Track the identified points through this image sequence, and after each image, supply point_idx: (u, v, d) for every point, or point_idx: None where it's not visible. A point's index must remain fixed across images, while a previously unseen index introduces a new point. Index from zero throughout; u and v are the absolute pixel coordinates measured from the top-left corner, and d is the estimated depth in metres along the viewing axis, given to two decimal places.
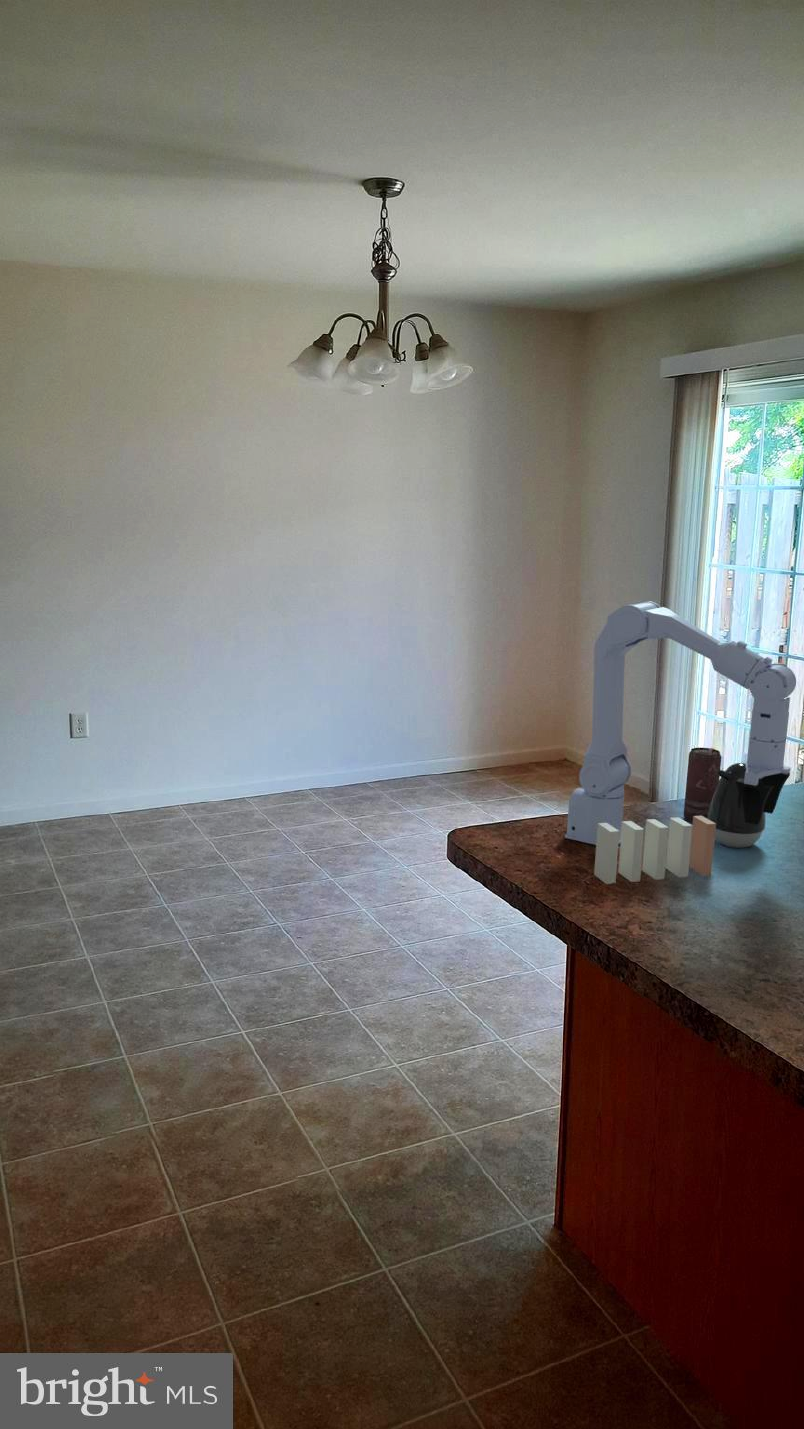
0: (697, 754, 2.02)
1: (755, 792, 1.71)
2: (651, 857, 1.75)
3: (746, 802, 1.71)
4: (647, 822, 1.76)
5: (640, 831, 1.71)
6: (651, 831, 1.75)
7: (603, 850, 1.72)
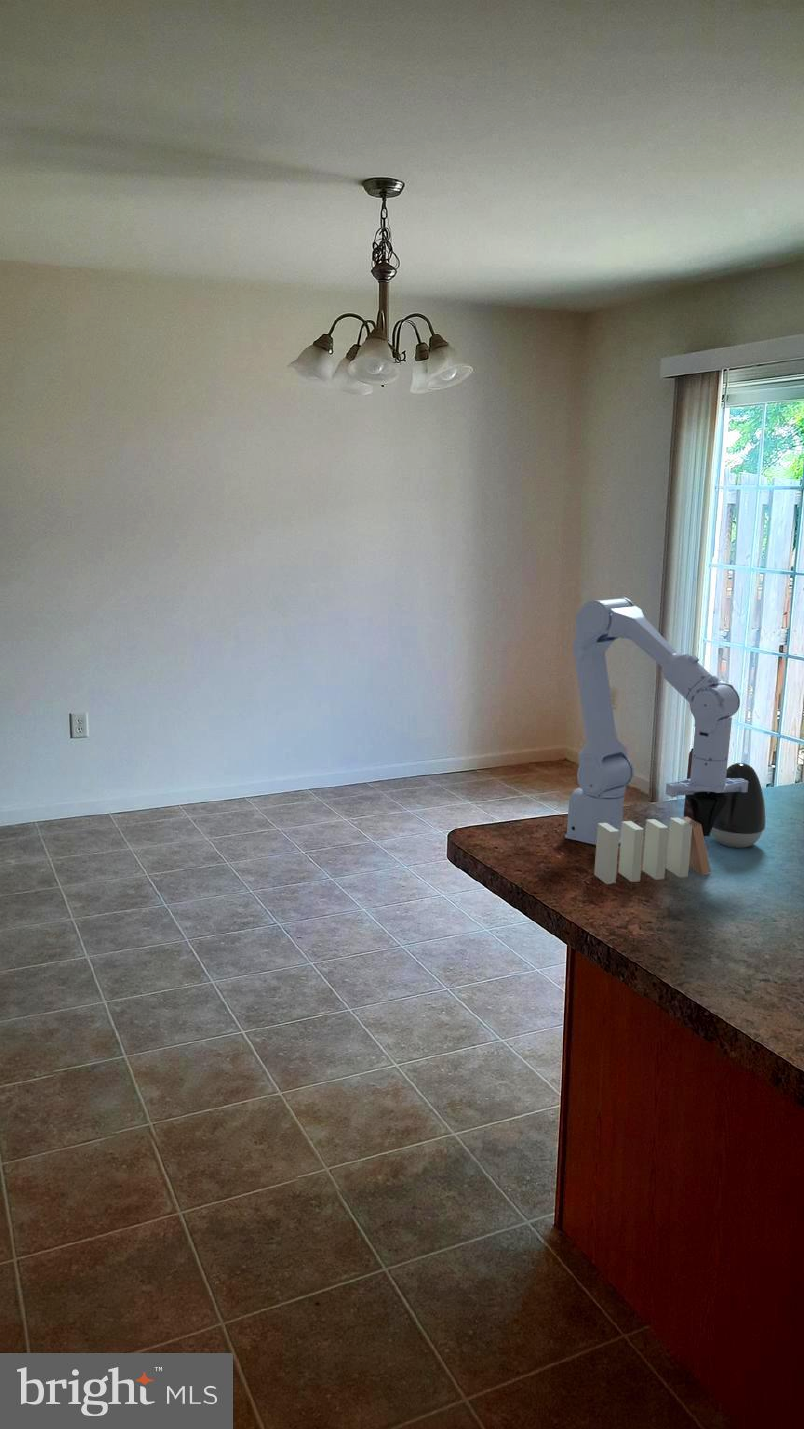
0: None
1: None
2: (651, 857, 1.75)
3: (696, 813, 1.77)
4: (647, 822, 1.76)
5: (640, 831, 1.71)
6: (651, 831, 1.75)
7: (603, 850, 1.72)
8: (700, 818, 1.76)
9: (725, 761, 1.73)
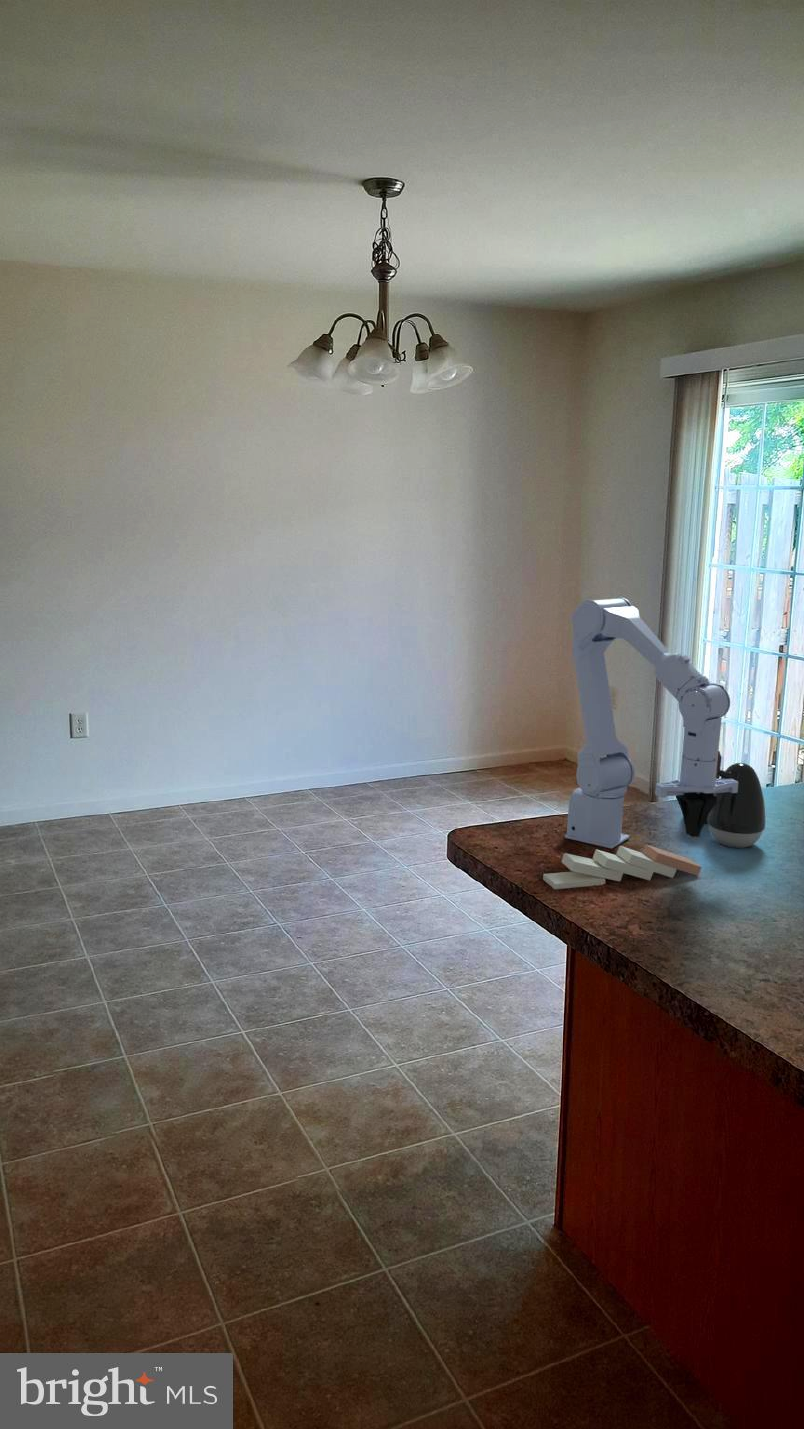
0: None
1: None
2: None
3: (685, 814, 1.77)
4: (595, 859, 1.74)
5: (575, 865, 1.70)
6: None
7: None
8: (690, 819, 1.76)
9: (715, 762, 1.72)
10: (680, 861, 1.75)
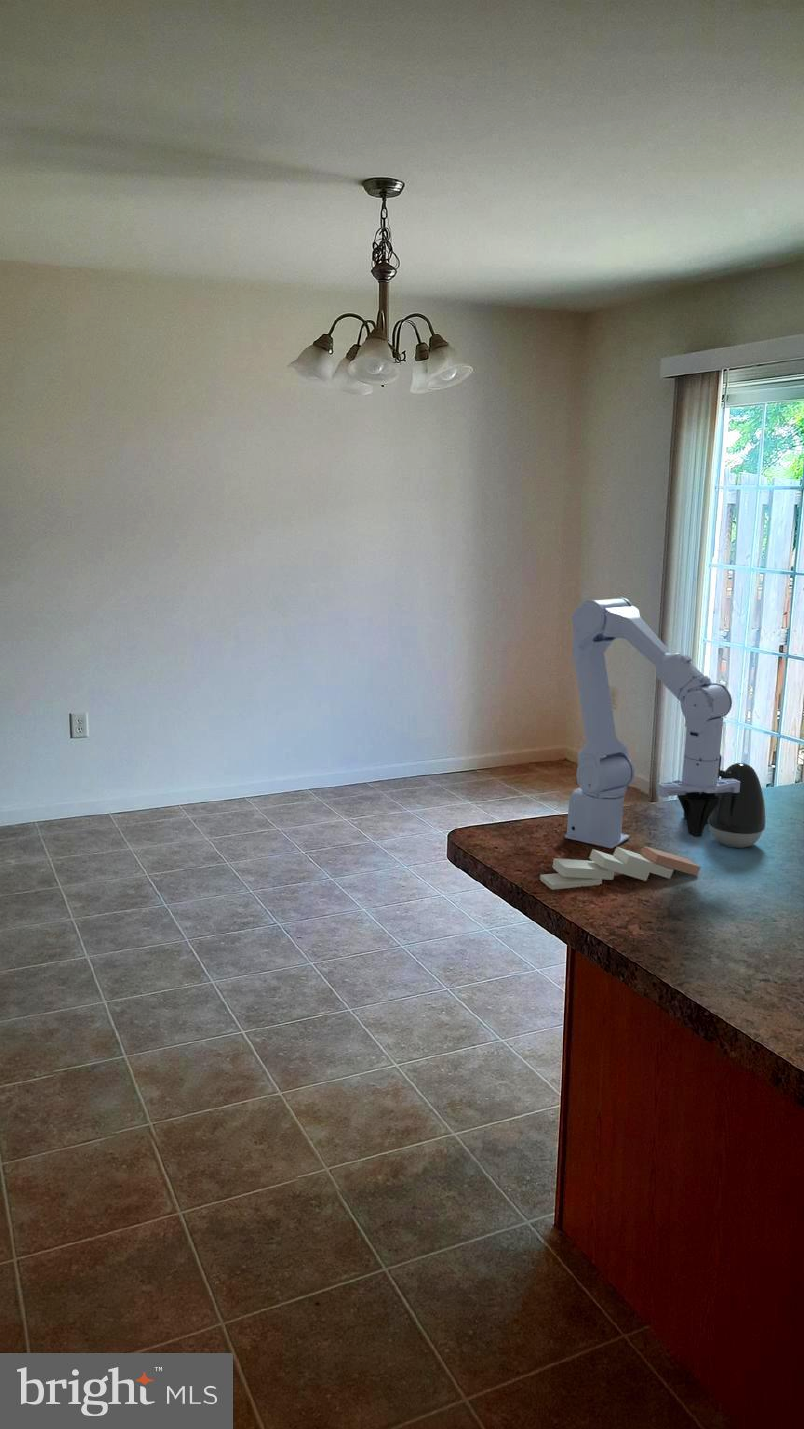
0: None
1: None
2: None
3: (687, 813, 1.77)
4: (592, 859, 1.74)
5: (566, 870, 1.69)
6: None
7: None
8: (692, 819, 1.76)
9: (716, 761, 1.72)
10: (679, 862, 1.74)
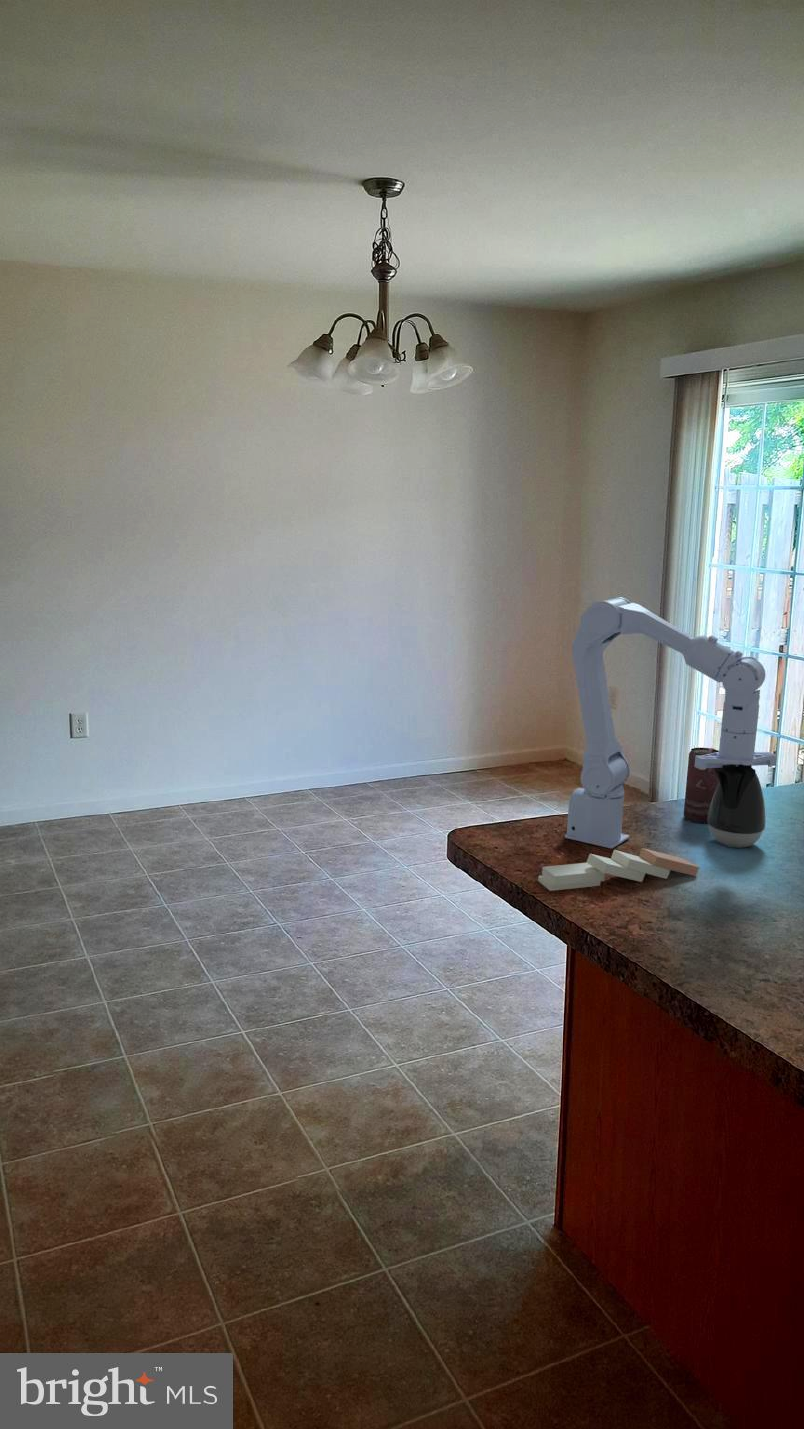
0: (697, 754, 2.02)
1: None
2: None
3: (724, 786, 1.80)
4: (589, 863, 1.71)
5: (556, 879, 1.67)
6: None
7: None
8: (728, 791, 1.79)
9: (754, 734, 1.75)
10: (678, 863, 1.74)
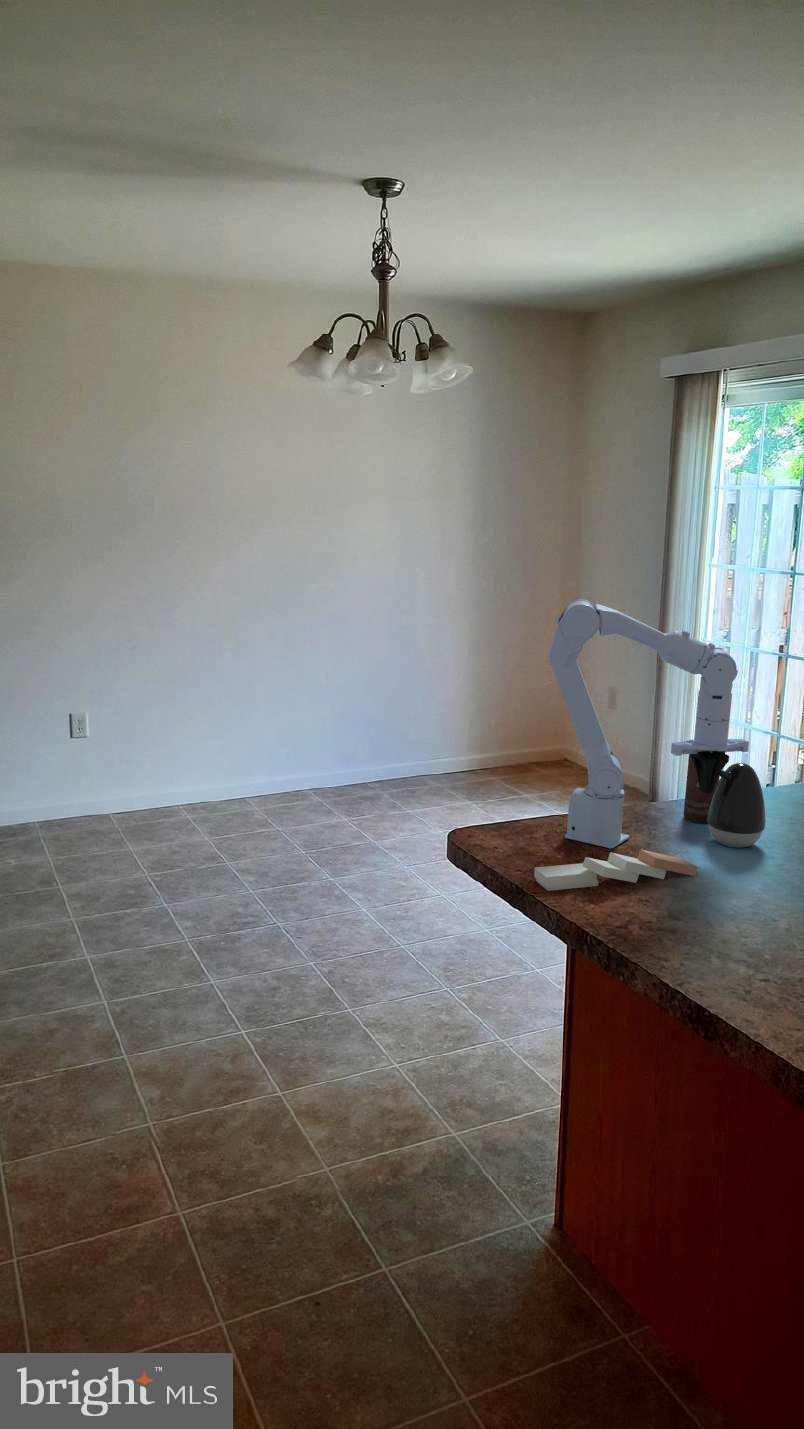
0: None
1: None
2: None
3: (699, 771, 1.88)
4: (585, 867, 1.70)
5: (548, 880, 1.67)
6: None
7: None
8: (703, 776, 1.87)
9: (727, 722, 1.83)
10: (677, 863, 1.74)
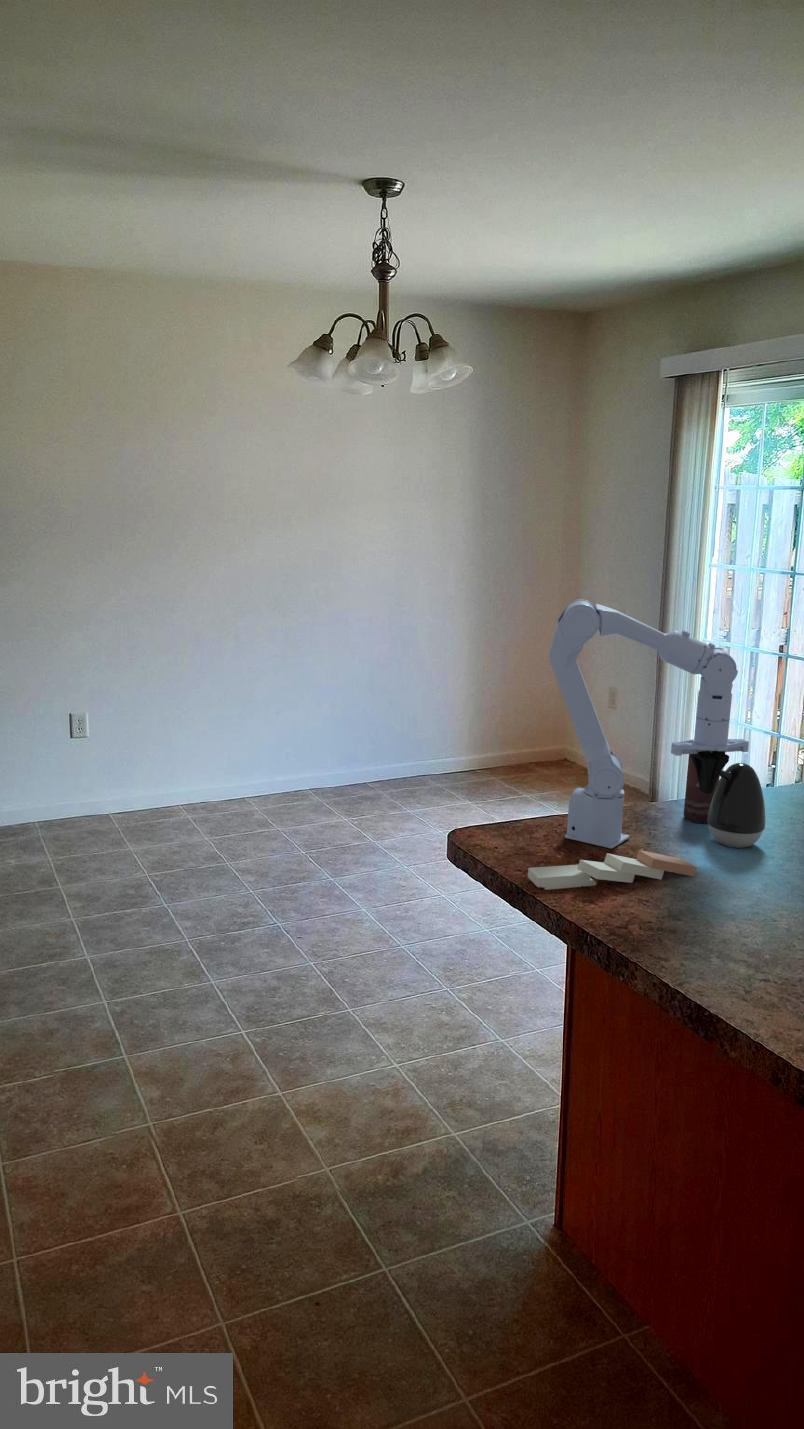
0: None
1: None
2: None
3: (699, 771, 1.88)
4: None
5: (540, 880, 1.68)
6: None
7: None
8: (703, 776, 1.87)
9: (727, 722, 1.83)
10: (675, 864, 1.74)
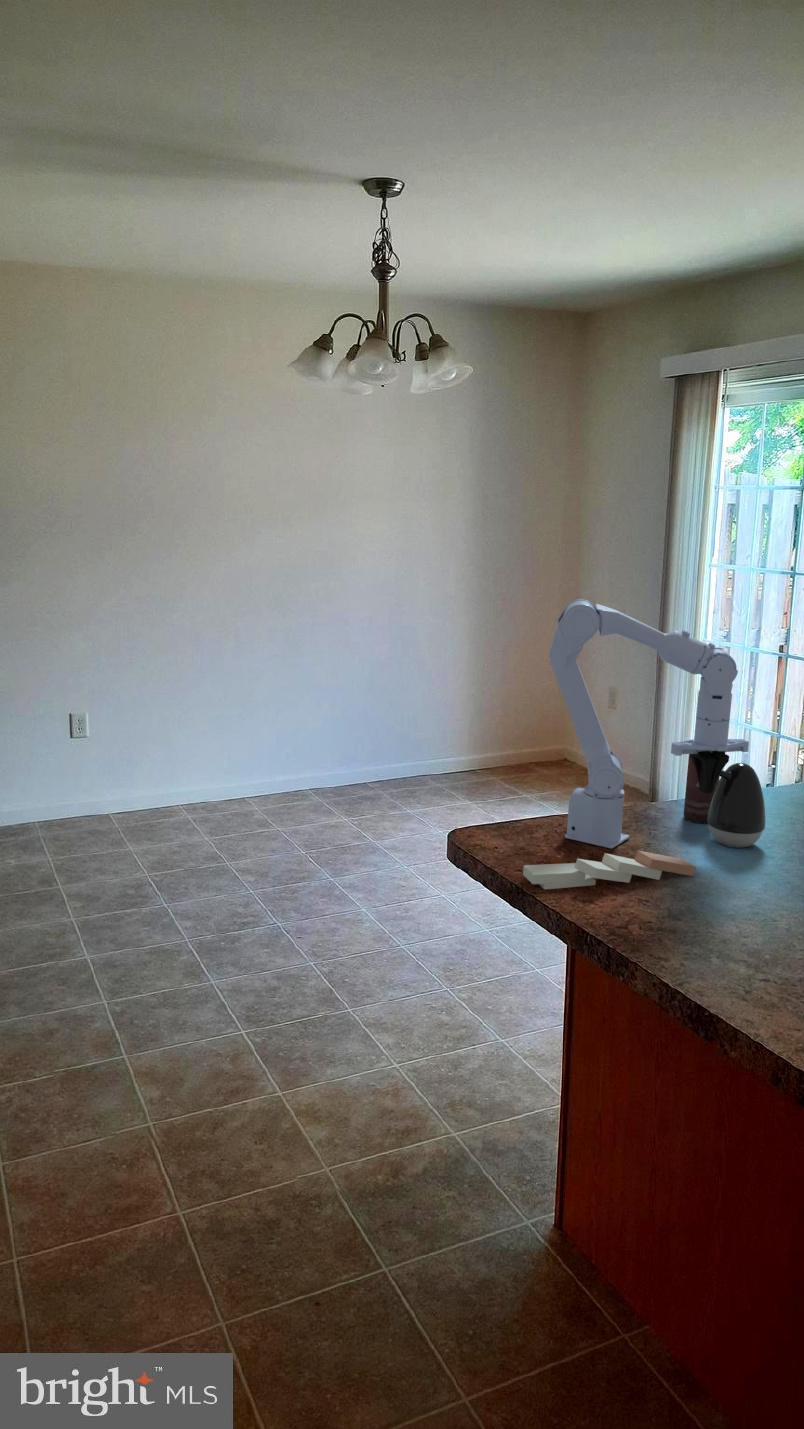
0: None
1: None
2: None
3: (699, 771, 1.88)
4: None
5: (535, 877, 1.68)
6: None
7: None
8: (703, 776, 1.87)
9: (727, 722, 1.83)
10: (674, 864, 1.74)
